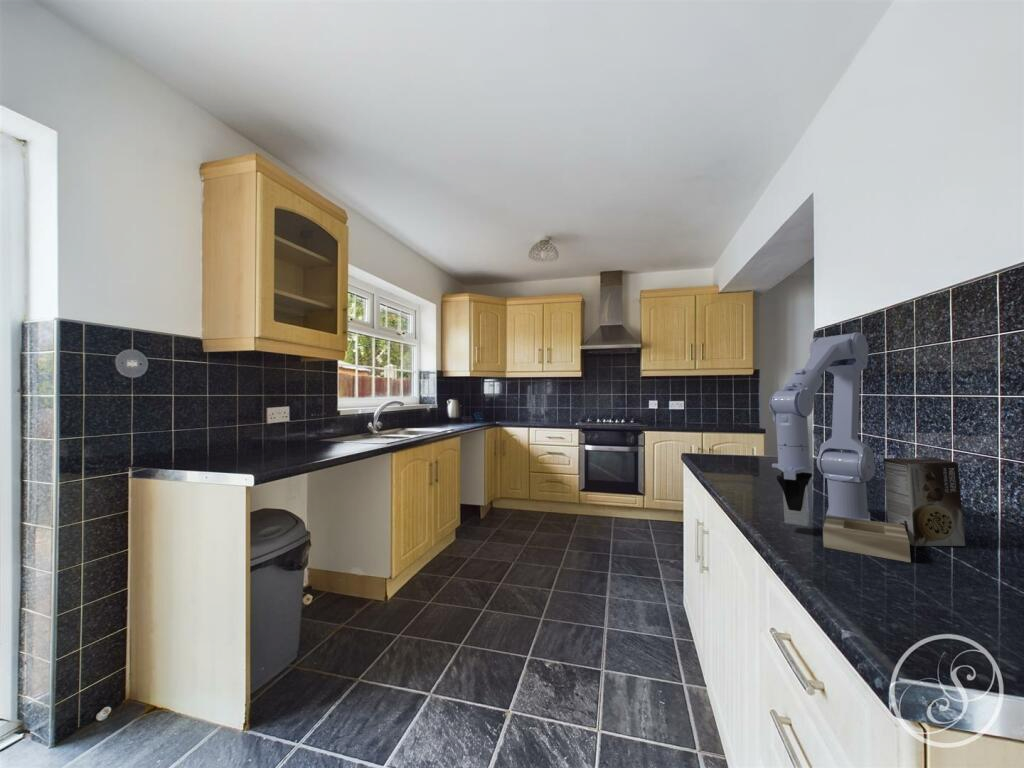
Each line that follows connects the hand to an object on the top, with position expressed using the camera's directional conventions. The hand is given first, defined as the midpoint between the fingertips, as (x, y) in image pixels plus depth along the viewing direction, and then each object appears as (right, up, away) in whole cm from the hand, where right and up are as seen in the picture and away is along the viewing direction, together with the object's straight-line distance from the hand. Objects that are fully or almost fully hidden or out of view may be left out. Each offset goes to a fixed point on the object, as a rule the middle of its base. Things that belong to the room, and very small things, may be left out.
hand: (796, 508), depth 87 cm
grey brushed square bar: (0, -3, 0) cm, 3 cm away
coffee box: (+20, -5, -7) cm, 22 cm away
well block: (+7, -5, -9) cm, 12 cm away
